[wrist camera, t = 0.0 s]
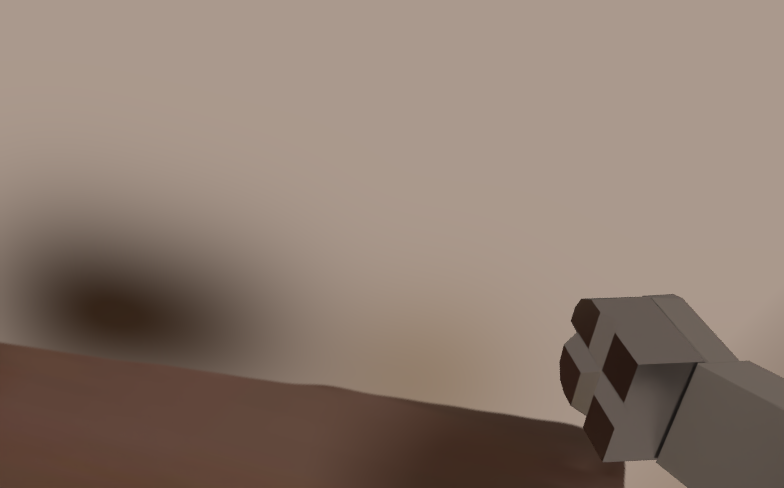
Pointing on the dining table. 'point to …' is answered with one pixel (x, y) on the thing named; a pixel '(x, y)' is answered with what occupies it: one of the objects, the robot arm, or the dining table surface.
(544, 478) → the dining table surface
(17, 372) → the dining table surface
